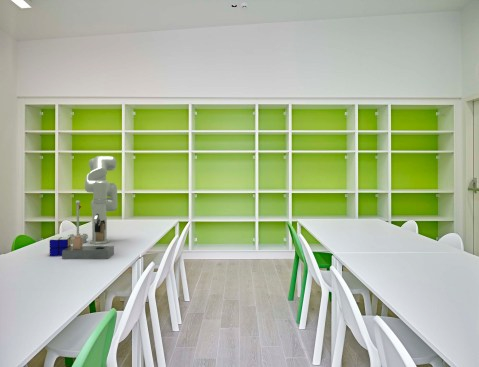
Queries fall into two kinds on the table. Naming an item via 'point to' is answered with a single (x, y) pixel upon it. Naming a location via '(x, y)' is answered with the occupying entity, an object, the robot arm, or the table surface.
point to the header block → (88, 252)
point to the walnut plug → (101, 233)
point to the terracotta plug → (77, 242)
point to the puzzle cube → (59, 245)
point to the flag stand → (78, 227)
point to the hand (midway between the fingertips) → (100, 230)
